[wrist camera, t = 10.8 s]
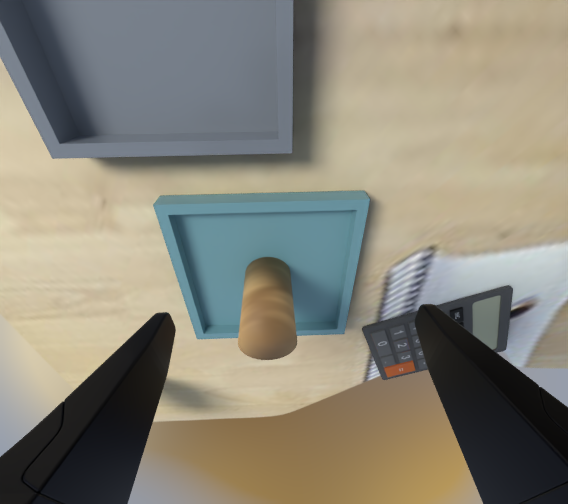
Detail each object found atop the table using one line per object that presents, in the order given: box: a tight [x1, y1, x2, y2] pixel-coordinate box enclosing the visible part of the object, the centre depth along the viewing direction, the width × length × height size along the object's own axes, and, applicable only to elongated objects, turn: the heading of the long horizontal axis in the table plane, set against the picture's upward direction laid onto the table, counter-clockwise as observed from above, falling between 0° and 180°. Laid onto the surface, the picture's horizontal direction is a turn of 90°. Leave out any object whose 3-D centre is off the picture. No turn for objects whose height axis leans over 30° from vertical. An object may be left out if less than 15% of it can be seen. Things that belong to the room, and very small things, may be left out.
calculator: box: [362, 285, 513, 380], centre depth 31 cm, size 12×1×15 cm
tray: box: [153, 191, 370, 339], centre depth 24 cm, size 15×15×2 cm
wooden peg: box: [238, 257, 297, 360], centre depth 21 cm, size 4×4×7 cm
